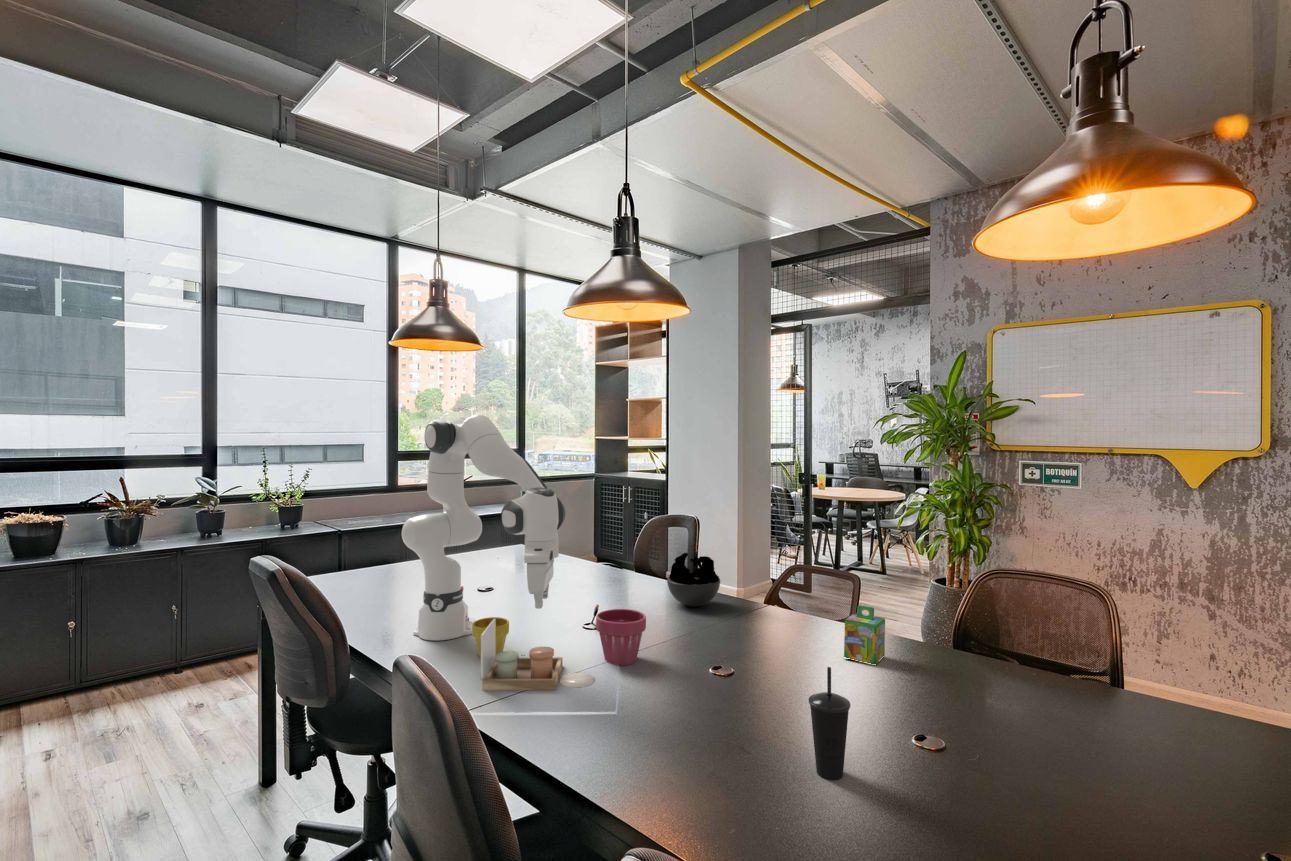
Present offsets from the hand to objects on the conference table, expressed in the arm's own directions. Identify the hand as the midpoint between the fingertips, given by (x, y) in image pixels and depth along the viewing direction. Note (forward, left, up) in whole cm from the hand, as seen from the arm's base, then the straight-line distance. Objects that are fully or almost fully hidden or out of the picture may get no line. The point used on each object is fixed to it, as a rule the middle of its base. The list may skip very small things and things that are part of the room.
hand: (541, 602), depth 163 cm
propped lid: (0, -14, -17) cm, 22 cm away
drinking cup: (+46, +61, -20) cm, 79 cm away
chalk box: (-14, +90, -20) cm, 94 cm away
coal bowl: (-70, +46, -20) cm, 87 cm away
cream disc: (+2, +9, -20) cm, 22 cm away
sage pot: (0, -9, -20) cm, 22 cm away
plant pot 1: (-18, -18, -20) cm, 32 cm away
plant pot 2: (-14, +20, -20) cm, 32 cm away
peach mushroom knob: (0, 0, -20) cm, 20 cm away
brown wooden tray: (0, -5, -20) cm, 21 cm away
